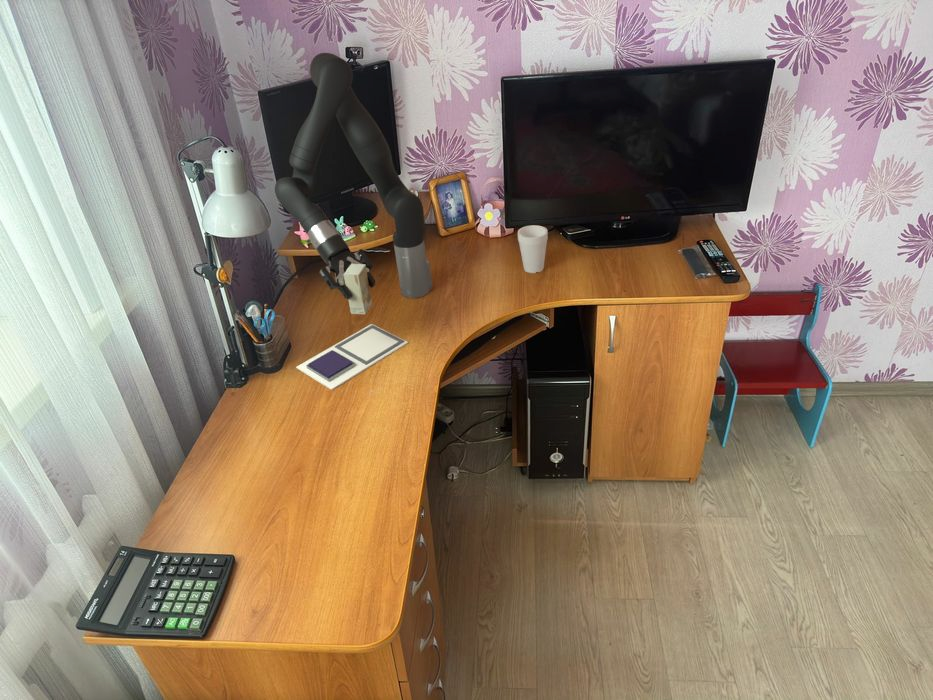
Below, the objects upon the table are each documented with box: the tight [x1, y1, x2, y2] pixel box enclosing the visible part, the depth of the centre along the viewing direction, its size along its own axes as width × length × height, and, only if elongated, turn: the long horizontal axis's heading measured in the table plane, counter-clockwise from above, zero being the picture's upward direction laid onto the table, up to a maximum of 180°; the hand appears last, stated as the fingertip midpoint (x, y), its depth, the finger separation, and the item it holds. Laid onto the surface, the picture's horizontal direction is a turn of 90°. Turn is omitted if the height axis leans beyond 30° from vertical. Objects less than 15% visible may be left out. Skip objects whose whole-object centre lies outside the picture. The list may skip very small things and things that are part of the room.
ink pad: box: [306, 350, 356, 382], centre depth 189 cm, size 9×10×2 cm
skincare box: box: [343, 263, 373, 315], centre depth 187 cm, size 6×4×12 cm
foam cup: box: [517, 224, 549, 274], centre depth 223 cm, size 10×9×13 cm
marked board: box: [296, 323, 409, 391], centre depth 194 cm, size 27×16×1 cm, turn 136°
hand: (362, 292), depth 186 cm, fingers closed on skincare box, 7 cm apart
